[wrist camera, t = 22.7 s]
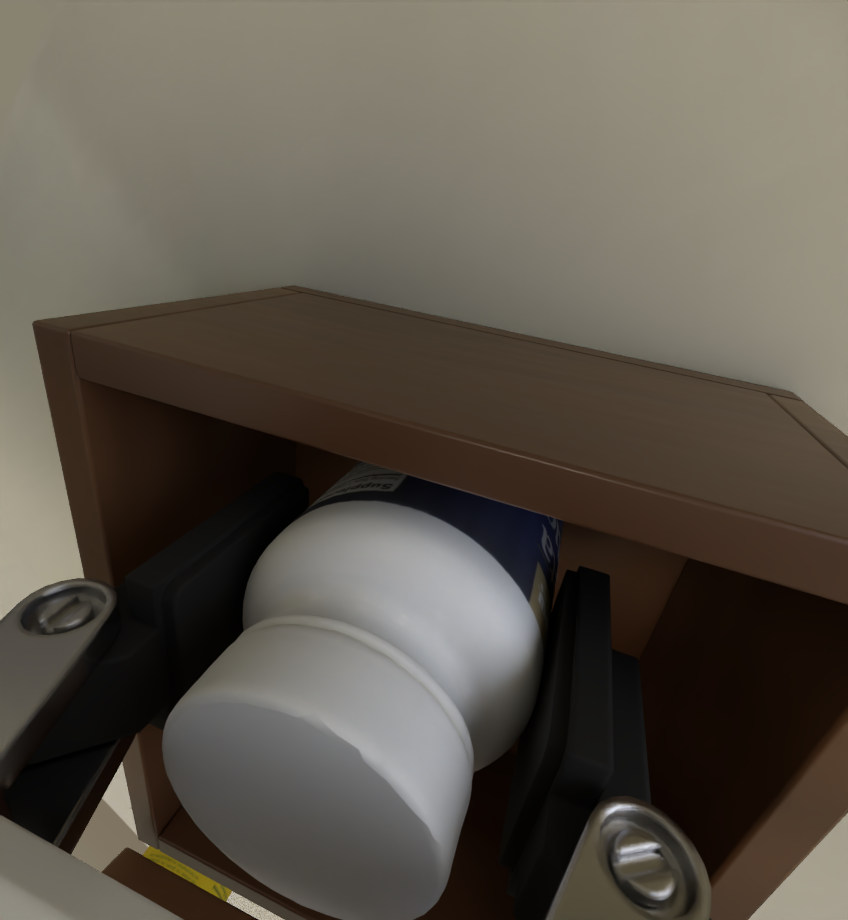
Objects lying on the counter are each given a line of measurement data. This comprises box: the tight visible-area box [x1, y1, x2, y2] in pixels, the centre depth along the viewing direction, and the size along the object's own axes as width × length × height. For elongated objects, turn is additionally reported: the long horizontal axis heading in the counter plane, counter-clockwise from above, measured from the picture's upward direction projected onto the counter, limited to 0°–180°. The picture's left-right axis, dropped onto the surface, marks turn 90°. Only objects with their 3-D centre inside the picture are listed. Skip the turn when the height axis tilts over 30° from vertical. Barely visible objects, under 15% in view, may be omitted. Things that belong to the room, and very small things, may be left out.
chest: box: [32, 286, 848, 920], centre depth 13 cm, size 16×14×8 cm
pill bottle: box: [162, 461, 564, 920], centre depth 10 cm, size 5×5×10 cm
